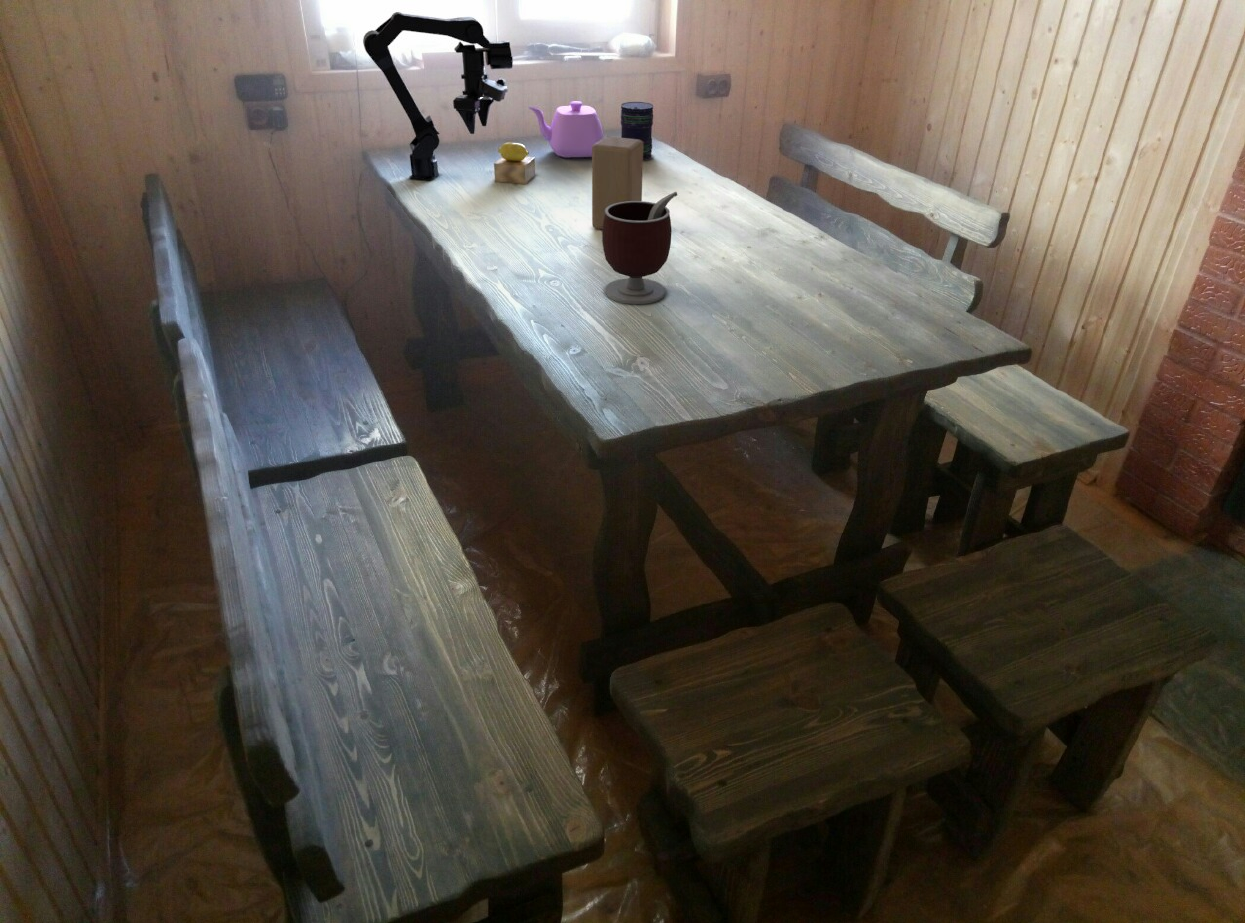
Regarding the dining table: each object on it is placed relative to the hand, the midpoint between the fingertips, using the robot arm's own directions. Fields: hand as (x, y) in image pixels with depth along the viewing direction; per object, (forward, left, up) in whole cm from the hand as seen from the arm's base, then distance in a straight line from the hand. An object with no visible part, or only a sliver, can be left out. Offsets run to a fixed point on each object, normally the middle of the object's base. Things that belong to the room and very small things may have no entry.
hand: (478, 130), depth 245 cm
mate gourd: (+62, -72, -12) cm, 96 cm away
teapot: (+20, +28, -12) cm, 36 cm away
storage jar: (+39, +30, -12) cm, 51 cm away
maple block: (+11, -2, -12) cm, 16 cm away
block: (+48, -33, -12) cm, 59 cm away
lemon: (+11, -2, -7) cm, 13 cm away
